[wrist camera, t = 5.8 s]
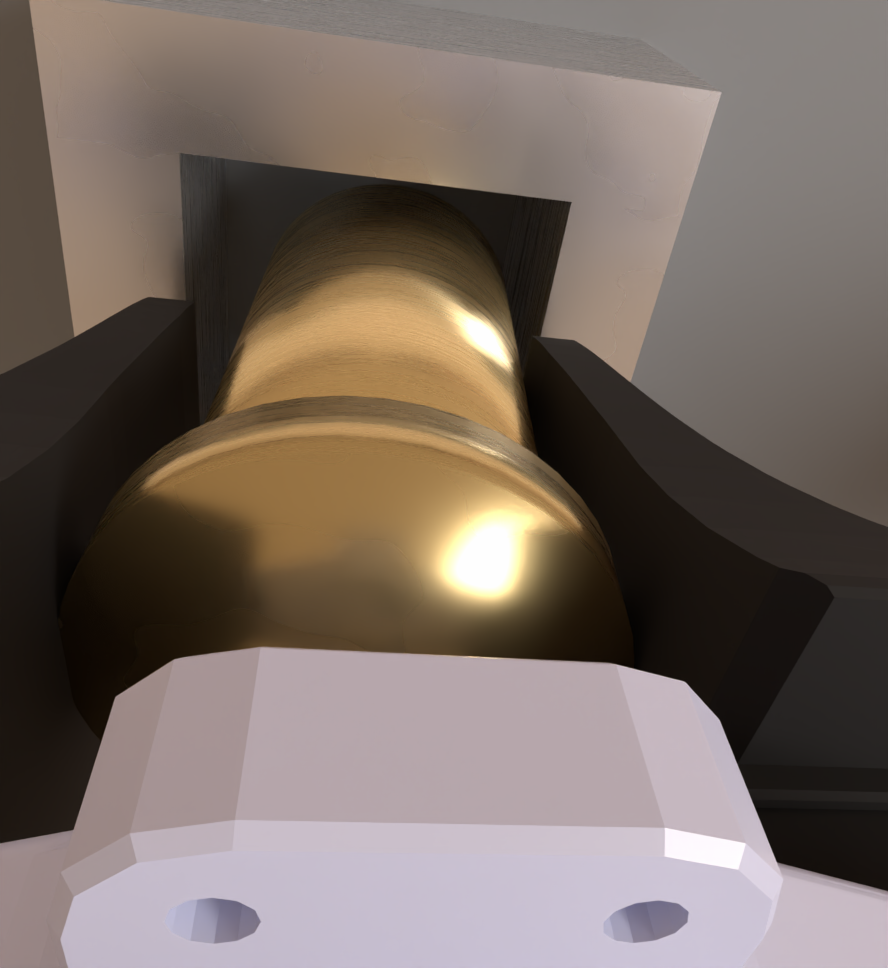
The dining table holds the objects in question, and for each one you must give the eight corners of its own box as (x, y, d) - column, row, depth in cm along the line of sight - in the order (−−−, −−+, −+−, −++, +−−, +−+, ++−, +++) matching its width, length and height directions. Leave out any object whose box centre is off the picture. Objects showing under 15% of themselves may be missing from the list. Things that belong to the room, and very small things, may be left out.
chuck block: (641, 39, 14) (722, 92, 11) (537, 452, 19) (570, 574, 15) (115, -42, 13) (28, -11, 9) (152, 421, 18) (102, 545, 14)
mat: (1334, -128, 13) (1363, -128, 13) (885, 586, 23) (895, 599, 22) (-220, -453, 10) (-245, -466, 10) (2, 531, 20) (-6, 544, 19)
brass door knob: (568, 177, 13) (717, 496, 6) (503, 447, 15) (558, 854, 9) (234, 125, 12) (14, 413, 6) (233, 415, 15) (87, 823, 9)
